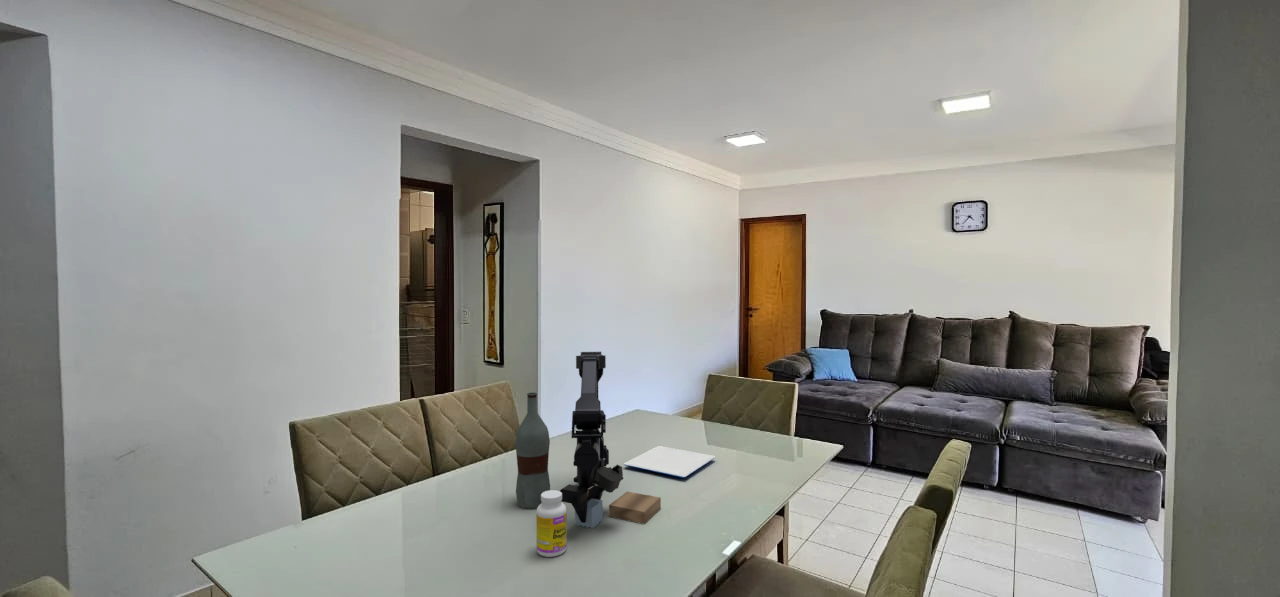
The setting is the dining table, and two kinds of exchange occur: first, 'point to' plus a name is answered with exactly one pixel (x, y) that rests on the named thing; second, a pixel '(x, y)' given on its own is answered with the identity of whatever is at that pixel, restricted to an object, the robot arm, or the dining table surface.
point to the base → (635, 507)
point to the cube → (592, 514)
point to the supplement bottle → (551, 524)
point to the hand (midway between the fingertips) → (588, 518)
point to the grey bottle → (532, 457)
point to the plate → (670, 461)
